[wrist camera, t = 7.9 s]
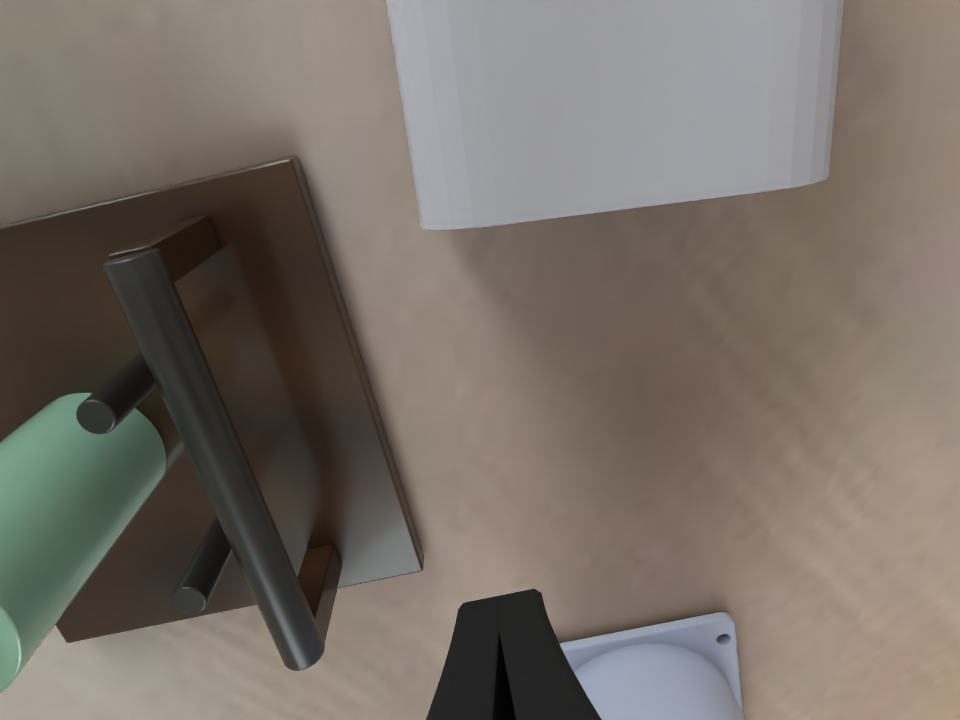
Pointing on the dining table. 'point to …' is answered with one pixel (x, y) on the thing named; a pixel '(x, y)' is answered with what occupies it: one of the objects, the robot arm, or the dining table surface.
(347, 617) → the dining table surface
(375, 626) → the dining table surface
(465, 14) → the charger
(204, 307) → the rack
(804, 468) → the dining table surface
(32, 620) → the bottle
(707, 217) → the dining table surface
